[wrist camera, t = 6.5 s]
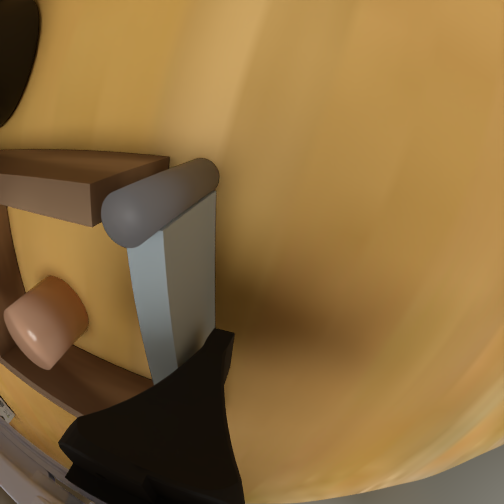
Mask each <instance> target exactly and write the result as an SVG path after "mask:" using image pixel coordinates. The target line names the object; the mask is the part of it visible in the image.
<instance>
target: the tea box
mask: <svg viewBox="0 0 504 504" xmlns="http://www.w3.org/2000/svg"><path fill="white" fill-rule="evenodd" d="M0 416H1V417H2V418H3V419H4V420H5V421H6V422H7V423H8V424H9V423H10V421H11V420H12V419H13V417H14V416H15V414H14V413H13V412H12V411H11V410H10V409H9V407H8V406H7V405H6V404H5V402H4V401H3V400H2V399H1V397H0Z"/></svg>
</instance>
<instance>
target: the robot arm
mask: <svg viewBox="0 0 504 504" xmlns="http://www.w3.org/2000/svg"><path fill="white" fill-rule="evenodd" d="M234 335H235V333H232V332H228V331H224V330H220V329H216V328H214V329H213V330H212V332H211V333H210V334H209V336H208V337H207V339H206V341H205V343H204V345H203V346H202V347H201V348H200V349H199V350H198V351H197V352H196V353H195V354H194V355H193V356H192V357H191V358H190V359H188V360H187V361H186V362H185V363H184V364H183V365H181V366H180V367H179V368H177V369H176V370H175V371H174V372H172V373H171V374H170V375H168V376H167V377H165V378H164V379H163V380H161V381H160V382H158V383H156V384H155V385H153V386H152V387H150V388H148V389H147V390H145V391H143V392H141V393H139V394H138V395H136V396H134V397H132V398H130V399H128V400H125V401H123V402H121V403H118V404H116V405H113V406H111V407H109V408H106V409H103V410H100V411H97V412H93V413H90V414H87V415H83V416H80V417H78V418H77V419H76V420H75V421H74V422H73V423H72V424H71V425H70V426H69V427H68V429H67V430H66V432H65V433H64V435H63V436H62V438H61V439H60V440H59V442H58V443H59V447H60V448H61V450H62V451H63V452H64V453H65V454H66V455H67V457H68V458H69V459H70V460H71V461H72V462H73V464H72V466H71V468H70V469H69V470H68V469H67V468H65V467H64V466H62V465H61V464H59V463H58V462H56V461H55V460H54V459H52V458H51V457H49V456H48V455H47V454H45V453H44V452H42V451H41V450H40V449H38V448H37V447H36V446H35V445H33V444H32V443H31V442H30V441H28V440H27V439H26V438H25V437H23V436H22V435H21V434H20V433H19V432H17V431H16V430H15V429H14V428H13V427H12V426H10V425H9V424H8V423H7V422H6V421H5V420H4V419H3V418H2V417H1V416H0V486H1V487H2V488H3V489H4V490H5V491H6V493H7V494H8V495H9V496H11V498H12V499H13V500H14V501H15V502H17V503H18V504H86V503H84V502H82V501H80V500H79V499H77V498H76V497H75V496H73V495H72V494H71V493H70V492H68V491H67V490H65V489H64V488H62V487H61V486H59V485H58V484H57V483H55V478H56V479H58V480H59V481H61V482H62V483H64V484H65V485H67V486H68V487H70V488H71V489H73V490H74V491H76V492H78V493H79V494H81V495H82V496H84V497H86V498H88V499H89V500H91V501H93V502H94V503H95V504H245V500H244V493H243V487H242V480H241V477H240V474H239V471H238V467H237V464H236V461H235V457H234V453H233V449H232V445H231V440H230V435H229V430H228V424H227V417H226V408H225V397H224V384H225V381H226V378H227V375H228V372H229V368H230V363H231V356H232V349H233V342H234ZM54 477H55V478H54ZM94 503H92V502H90V504H94Z"/></svg>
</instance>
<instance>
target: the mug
mask: <svg viewBox="0 0 504 504" xmlns="http://www.w3.org/2000/svg"><path fill="white" fill-rule="evenodd" d="M38 30H39V15H38V9H37V6H36V4H35V2H34V0H0V126H1V125H2V124H3V123H4V122H5V121H6V120H7V119H8V118H9V116H10V115H11V113H12V112H13V110H14V109H15V107H16V105H17V103H18V101H19V99H20V97H21V94H22V92H23V89H24V87H25V84H26V81H27V79H28V76H29V72H30V69H31V66H32V62H33V58H34V54H35V49H36V44H37V38H38Z"/></svg>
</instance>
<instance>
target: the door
mask: <svg viewBox="0 0 504 504" xmlns="http://www.w3.org/2000/svg"><path fill="white" fill-rule="evenodd" d="M218 182H219V172H218V170H217V168H216V166H215V165H214V164H213V163H212V162H211V161H209V160H207V159H203V158H199V159H195V160H192V161H189V162H186V163H183V164H181V165H178V166H175V167H173V168H170V169H167V170H165V171H162V172H159V173H157V174H154V175H152V176H149V177H147V178H144V179H142V180H139V181H137V182H135V183H132V184H130V185H127V186H125V187H123V188H120V189H118V190H116V191H114V192H112V193H110V194H109V195H108V196H107V197H106V198H105V200H104V201H103V204H102V208H101V219H102V223H103V226H104V229H105V231H106V233H107V234H108V236H109V237H110V238H111V239H112V240H113V241H114V242H115V243H117V244H118V245H120V246H122V247H125V248H127V253H128V261H129V268H130V274H131V281H132V287H133V293H134V299H135V304H136V310H137V315H138V320H139V325H140V330H141V334H142V339H143V343H144V348H145V352H146V356H147V360H148V364H149V368H150V372H151V376H152V380H153V383H154V385H155V384H156V383H158V382H160V381H161V380H163V379H164V378H165V377H167V376H168V375H170V374H171V373H172V372H174V371H175V370H176V369H177V368H179V367H180V366H181V365H183V364H184V363H185V362H186V361H187V360H188V359H190V358H191V357H192V356H193V355H194V354H195V353H196V352H197V351H198V350H199V349H200V348H201V347H202V346H203V345H204V343H205V341H206V339H207V337H208V336H209V334H210V333H211V332H212V330H213V329H214V328H215V219H216V191H214V189H215V188H216V187H217V185H218Z"/></svg>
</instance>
